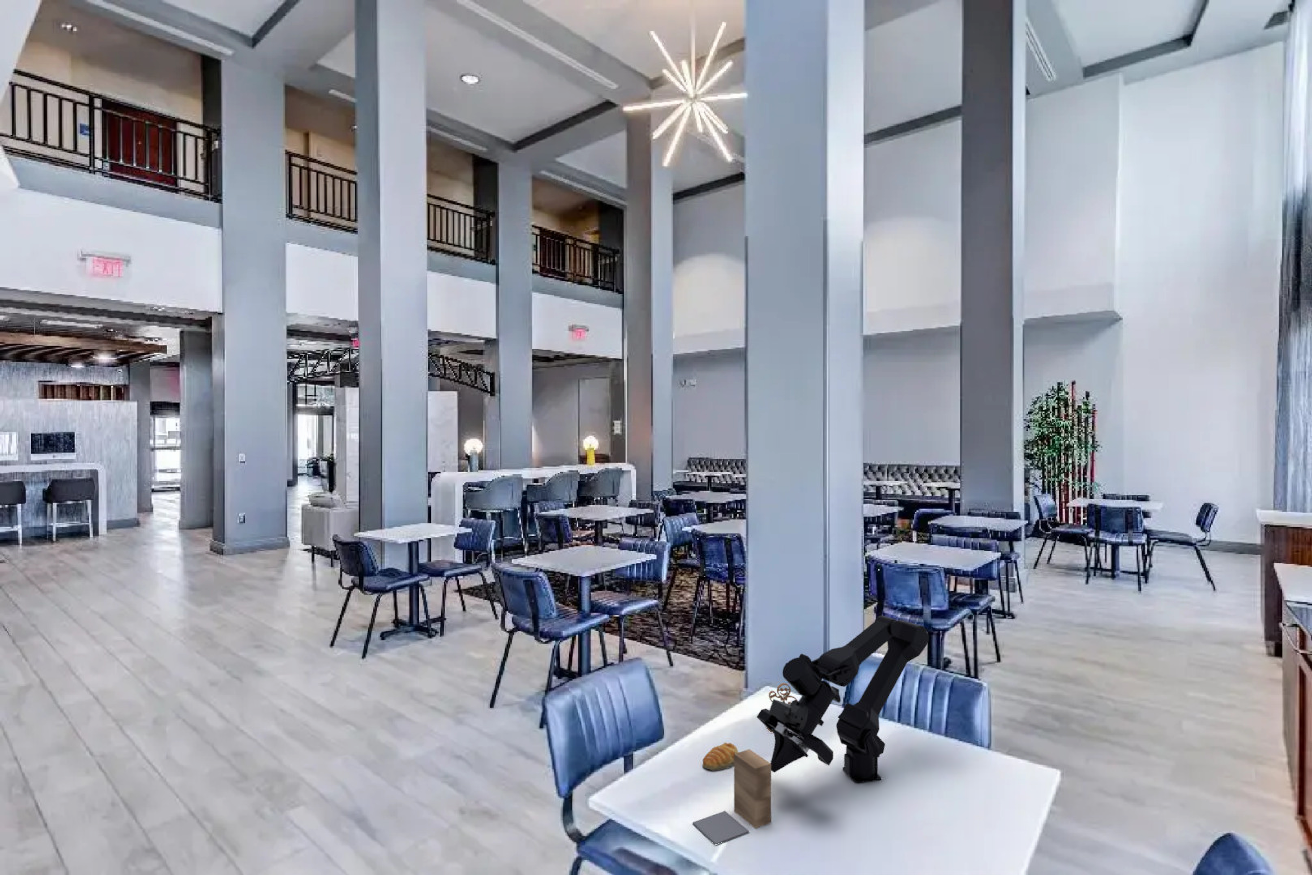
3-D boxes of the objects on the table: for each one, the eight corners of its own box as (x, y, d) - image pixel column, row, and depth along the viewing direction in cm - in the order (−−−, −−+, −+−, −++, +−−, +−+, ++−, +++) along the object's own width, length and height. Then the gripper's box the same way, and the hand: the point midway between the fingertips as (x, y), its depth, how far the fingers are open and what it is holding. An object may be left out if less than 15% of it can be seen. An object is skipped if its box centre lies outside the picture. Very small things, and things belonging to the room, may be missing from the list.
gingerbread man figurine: (797, 724, 181) (797, 679, 181) (802, 730, 177) (802, 685, 177) (765, 726, 179) (765, 681, 179) (770, 733, 176) (770, 687, 175)
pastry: (716, 776, 155) (716, 760, 154) (695, 765, 160) (695, 749, 160) (743, 762, 161) (743, 746, 161) (722, 752, 166) (722, 737, 166)
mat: (725, 812, 140) (725, 810, 140) (749, 832, 133) (749, 830, 133) (692, 824, 136) (692, 822, 136) (715, 845, 129) (715, 843, 129)
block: (749, 805, 142) (749, 749, 142) (771, 822, 136) (771, 763, 136) (734, 811, 140) (734, 753, 140) (755, 828, 134) (755, 768, 134)
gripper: (763, 671, 151) (723, 732, 146) (823, 701, 135) (780, 770, 130) (790, 699, 155) (752, 759, 150) (851, 731, 139) (811, 799, 134)
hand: (771, 770), depth 141 cm, fingers closed
